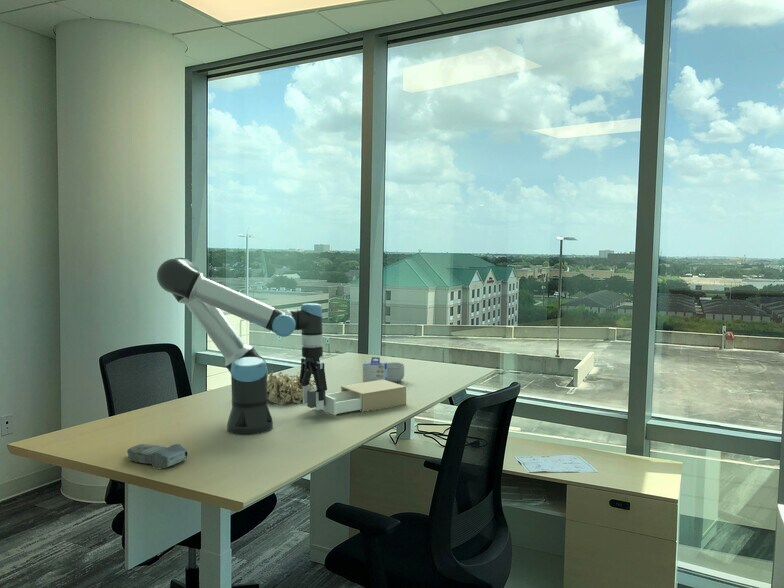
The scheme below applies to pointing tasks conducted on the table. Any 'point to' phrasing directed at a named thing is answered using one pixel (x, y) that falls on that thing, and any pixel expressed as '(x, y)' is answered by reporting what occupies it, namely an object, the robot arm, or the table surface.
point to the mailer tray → (336, 401)
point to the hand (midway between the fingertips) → (313, 406)
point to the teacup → (395, 372)
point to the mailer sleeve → (378, 394)
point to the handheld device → (157, 454)
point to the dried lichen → (285, 388)
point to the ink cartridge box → (374, 370)
